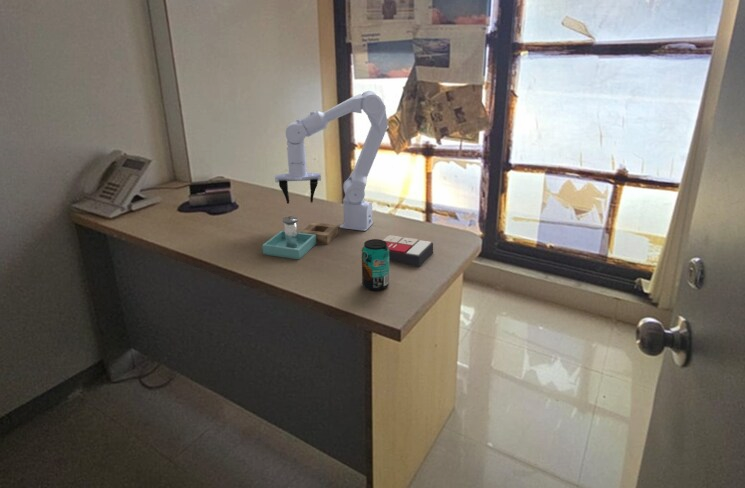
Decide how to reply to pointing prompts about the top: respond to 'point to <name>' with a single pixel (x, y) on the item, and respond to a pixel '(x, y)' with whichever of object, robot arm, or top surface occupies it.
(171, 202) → the top surface
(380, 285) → the beverage can
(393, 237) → the red white black box
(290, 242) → the steel pin
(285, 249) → the tray
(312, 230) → the hole block
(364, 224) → the robot arm
